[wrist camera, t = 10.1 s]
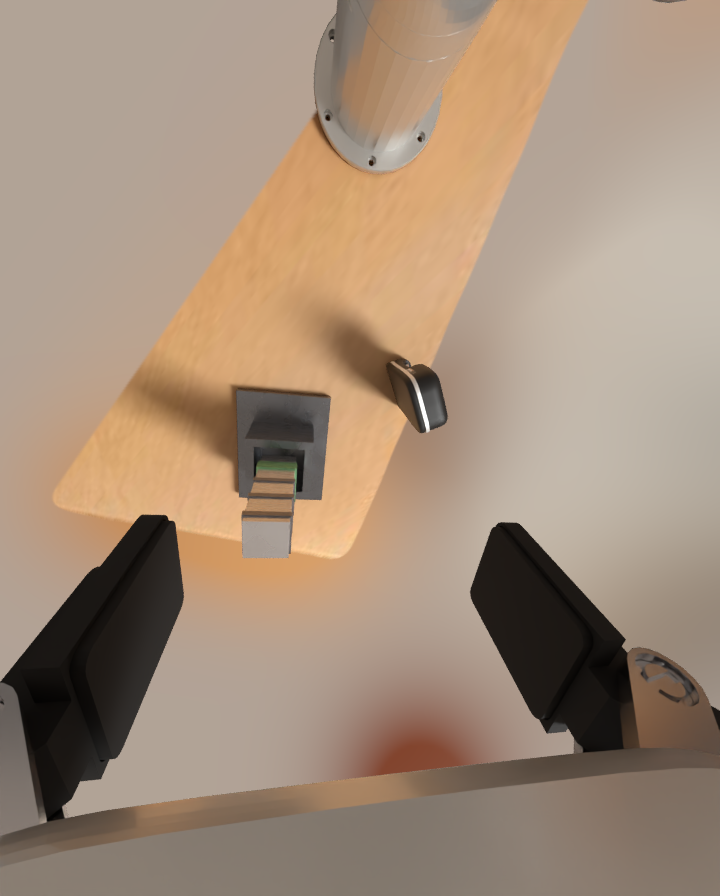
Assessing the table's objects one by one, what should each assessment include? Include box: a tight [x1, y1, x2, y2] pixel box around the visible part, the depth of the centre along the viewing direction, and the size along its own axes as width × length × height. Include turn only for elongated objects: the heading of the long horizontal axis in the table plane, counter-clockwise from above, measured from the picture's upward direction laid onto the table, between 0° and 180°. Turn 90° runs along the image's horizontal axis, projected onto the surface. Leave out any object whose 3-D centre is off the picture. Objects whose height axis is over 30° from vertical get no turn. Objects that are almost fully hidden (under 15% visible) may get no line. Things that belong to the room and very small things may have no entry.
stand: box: [236, 388, 331, 500], centre depth 43 cm, size 16×12×9 cm
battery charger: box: [386, 359, 447, 433], centre depth 40 cm, size 7×4×11 cm, turn 19°
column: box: [242, 455, 297, 558], centre depth 35 cm, size 4×4×13 cm
